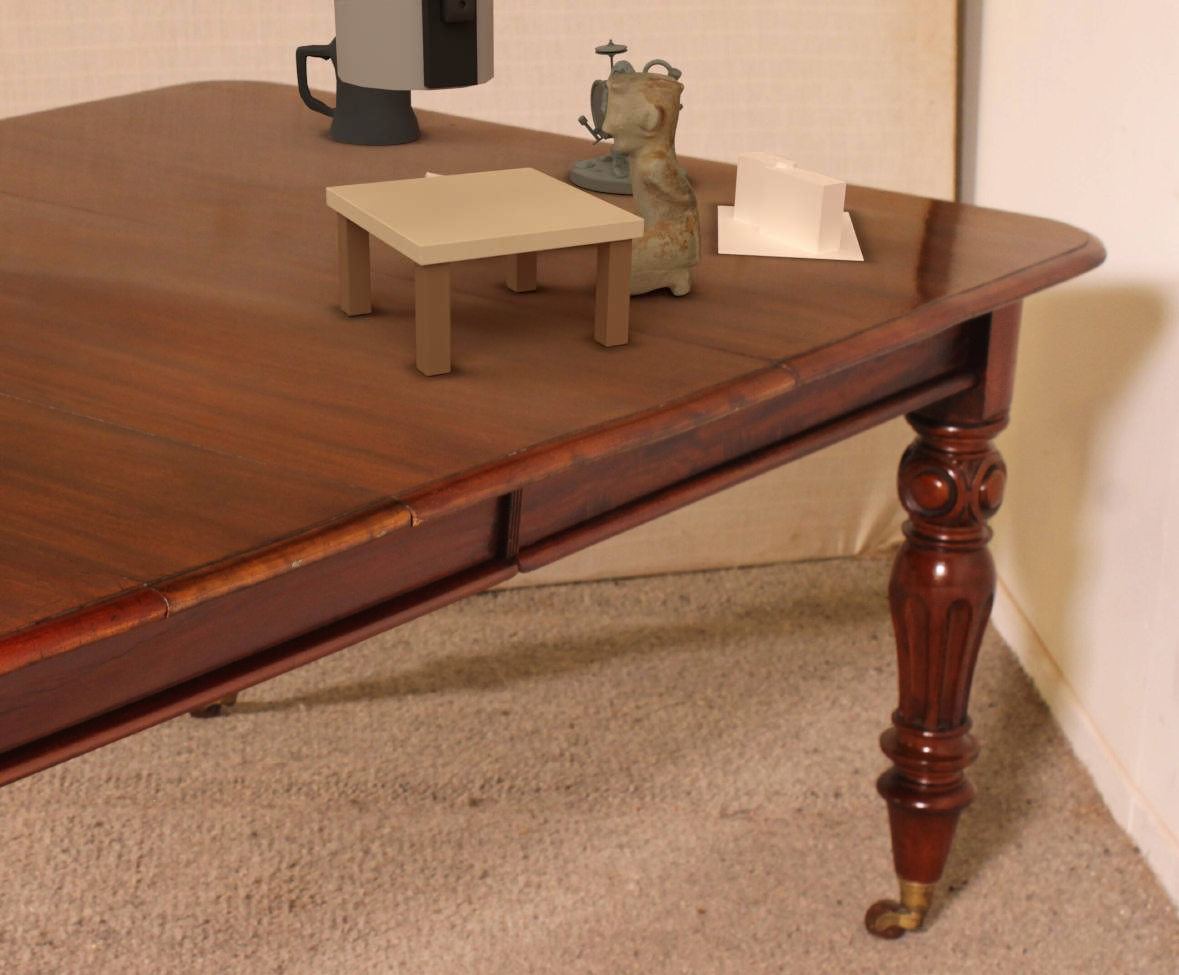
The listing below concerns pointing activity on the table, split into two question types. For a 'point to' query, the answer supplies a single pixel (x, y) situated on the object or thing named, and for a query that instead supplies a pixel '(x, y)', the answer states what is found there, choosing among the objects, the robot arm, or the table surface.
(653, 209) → the sculpture
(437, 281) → the side table
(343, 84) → the mug
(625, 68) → the figurine
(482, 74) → the cup
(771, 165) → the napkin holder
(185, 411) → the table surface
